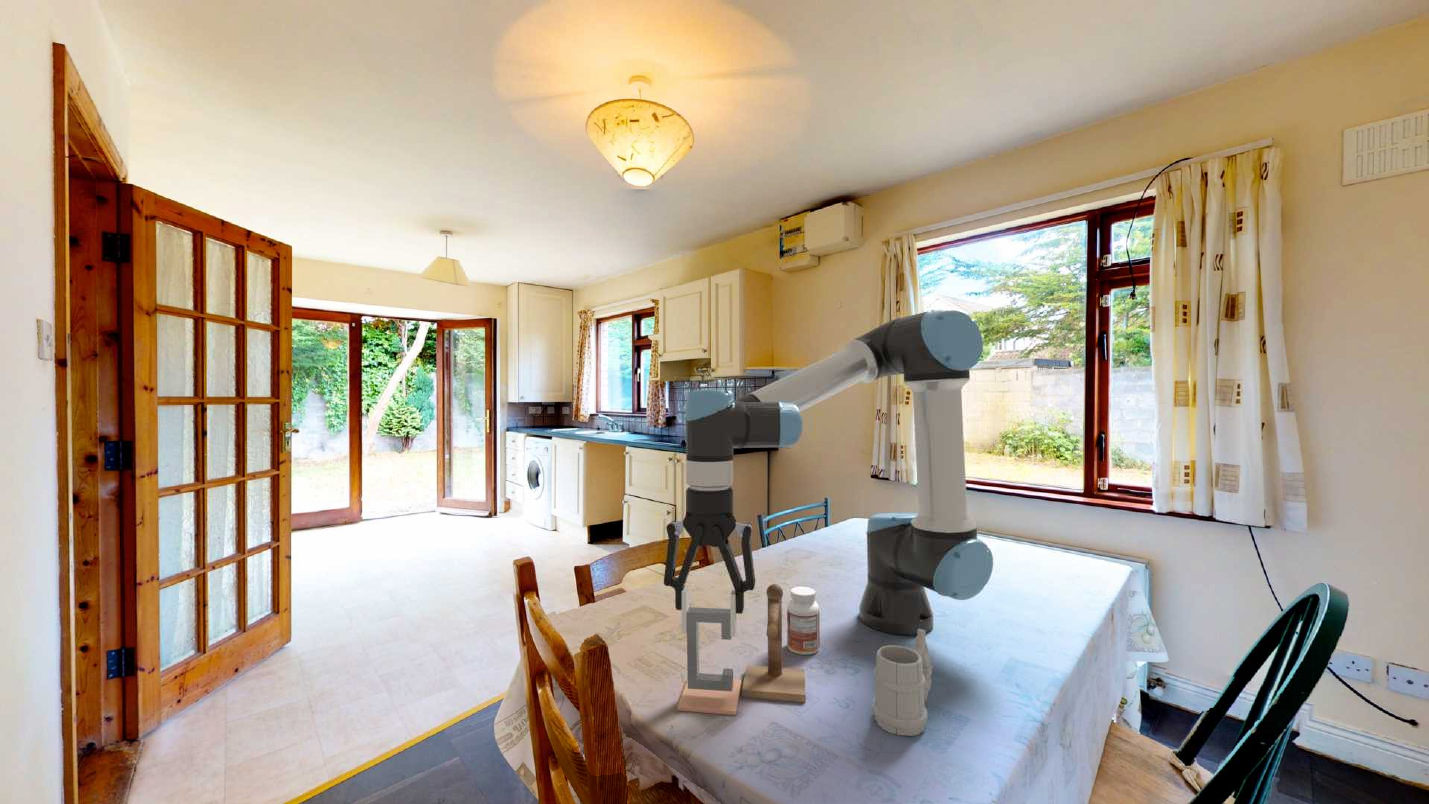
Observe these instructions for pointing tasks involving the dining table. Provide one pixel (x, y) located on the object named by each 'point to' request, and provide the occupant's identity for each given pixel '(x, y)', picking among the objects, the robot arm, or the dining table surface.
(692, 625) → the c link
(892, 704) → the mug
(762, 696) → the hook stand
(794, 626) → the pill bottle
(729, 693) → the tile
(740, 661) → the dining table surface
